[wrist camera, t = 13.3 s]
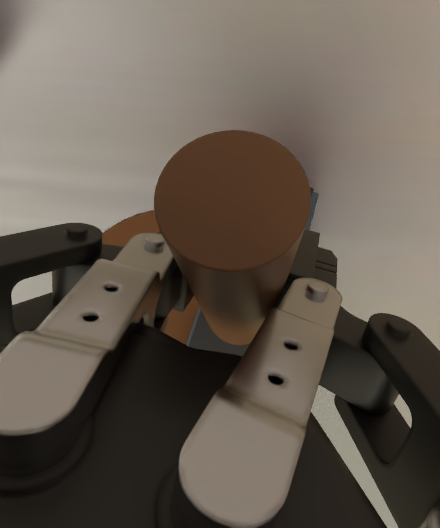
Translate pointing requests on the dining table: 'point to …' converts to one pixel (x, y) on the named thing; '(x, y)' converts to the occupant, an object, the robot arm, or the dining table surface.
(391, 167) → the dining table surface
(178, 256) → the sponge wiper
